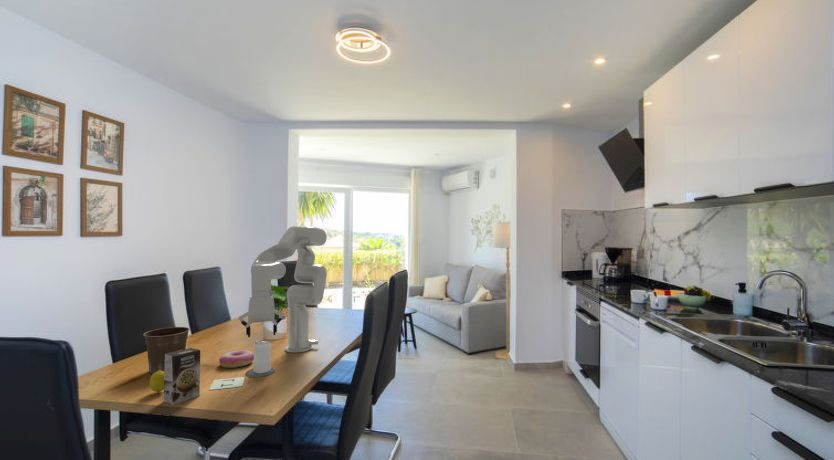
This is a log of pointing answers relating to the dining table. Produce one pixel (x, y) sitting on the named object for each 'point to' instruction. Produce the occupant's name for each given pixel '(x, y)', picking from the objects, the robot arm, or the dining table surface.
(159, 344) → the plant pot
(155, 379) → the lemon
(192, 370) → the coffee box
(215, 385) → the card
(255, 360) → the can
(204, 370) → the dining table surface
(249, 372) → the coaster
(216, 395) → the dining table surface
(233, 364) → the donut
